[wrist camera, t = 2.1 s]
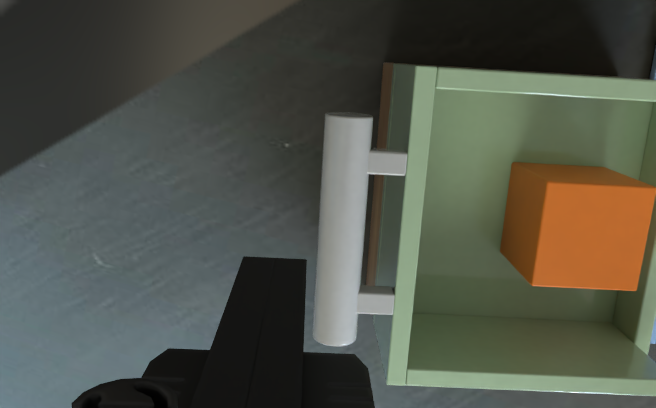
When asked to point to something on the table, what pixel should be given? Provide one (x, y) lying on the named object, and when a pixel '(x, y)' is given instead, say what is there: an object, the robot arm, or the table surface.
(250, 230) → the table surface
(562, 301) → the green open box
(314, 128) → the table surface
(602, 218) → the block
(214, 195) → the table surface
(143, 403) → the robot arm
